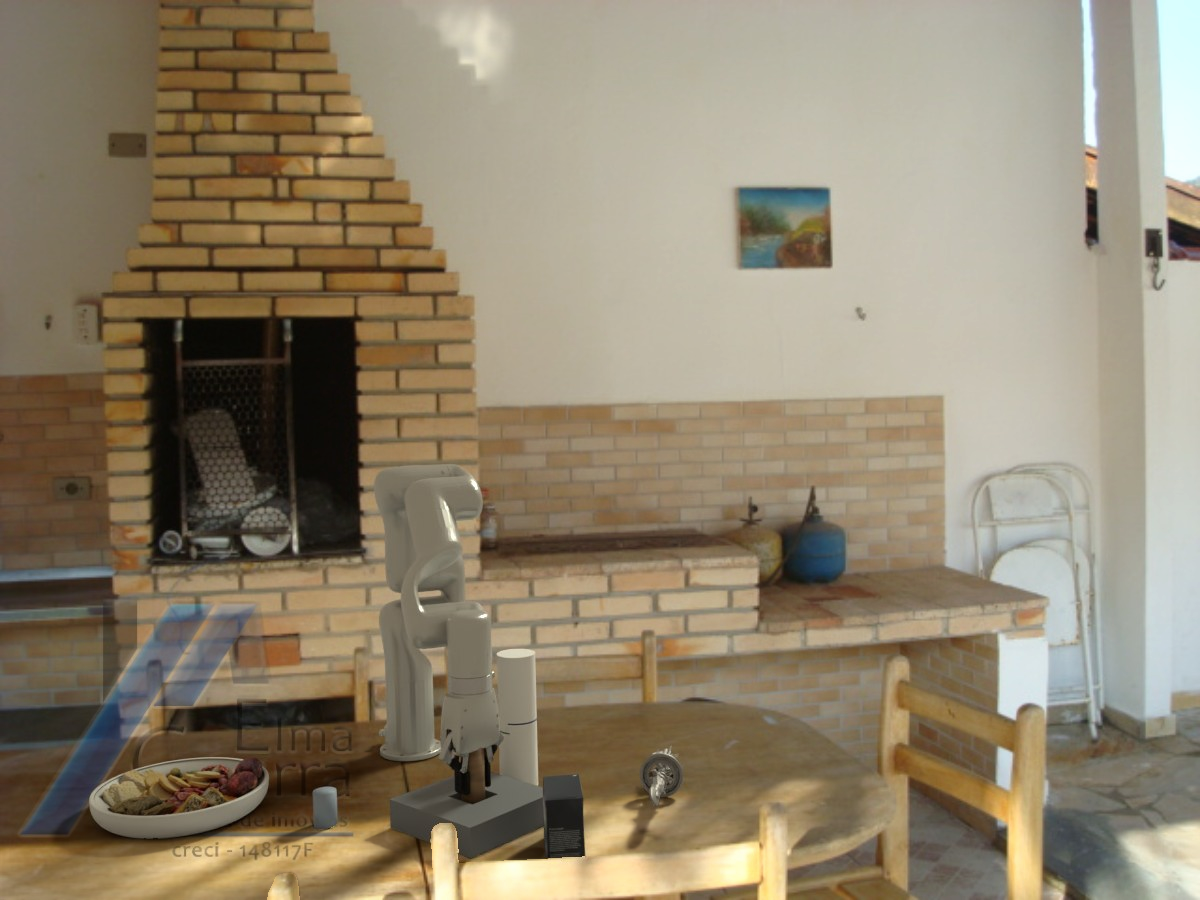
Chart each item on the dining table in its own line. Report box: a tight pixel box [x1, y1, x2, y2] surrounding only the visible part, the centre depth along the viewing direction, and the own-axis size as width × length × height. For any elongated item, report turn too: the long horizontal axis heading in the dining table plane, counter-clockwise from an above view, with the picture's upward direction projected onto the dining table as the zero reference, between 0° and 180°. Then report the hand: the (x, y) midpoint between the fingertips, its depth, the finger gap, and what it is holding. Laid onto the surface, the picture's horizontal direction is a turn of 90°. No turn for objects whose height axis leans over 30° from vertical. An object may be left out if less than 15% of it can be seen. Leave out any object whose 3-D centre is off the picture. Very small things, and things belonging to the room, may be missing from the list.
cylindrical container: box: [496, 648, 539, 786], centre depth 211 cm, size 7×7×25 cm
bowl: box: [88, 756, 270, 840], centre depth 203 cm, size 30×30×8 cm
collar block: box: [389, 771, 544, 859], centre depth 194 cm, size 20×20×5 cm
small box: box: [542, 773, 586, 859], centre depth 183 cm, size 11×6×10 cm, turn 5°
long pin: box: [462, 747, 485, 805], centre depth 194 cm, size 4×4×14 cm
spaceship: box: [639, 746, 684, 807], centre depth 205 cm, size 8×35×8 cm
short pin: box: [312, 786, 339, 830], centre depth 195 cm, size 4×4×6 cm
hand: (473, 788), depth 194 cm, fingers closed on long pin, 4 cm apart
